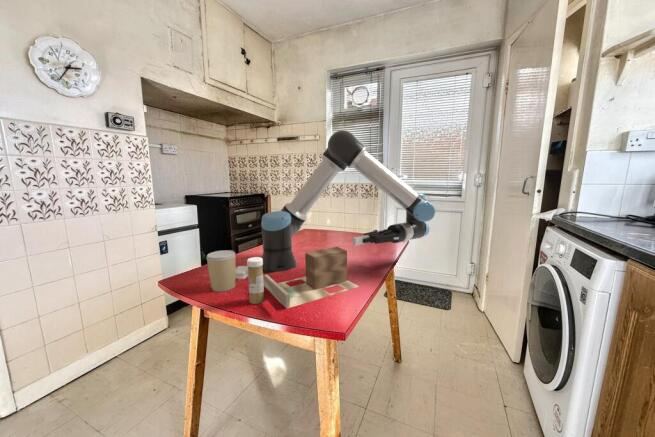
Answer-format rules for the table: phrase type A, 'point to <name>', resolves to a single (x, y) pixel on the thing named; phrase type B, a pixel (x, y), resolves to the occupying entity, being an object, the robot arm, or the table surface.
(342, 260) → the block
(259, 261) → the sprinkles bottle
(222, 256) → the coffee cup
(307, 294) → the board
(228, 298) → the table surface
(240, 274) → the soap
